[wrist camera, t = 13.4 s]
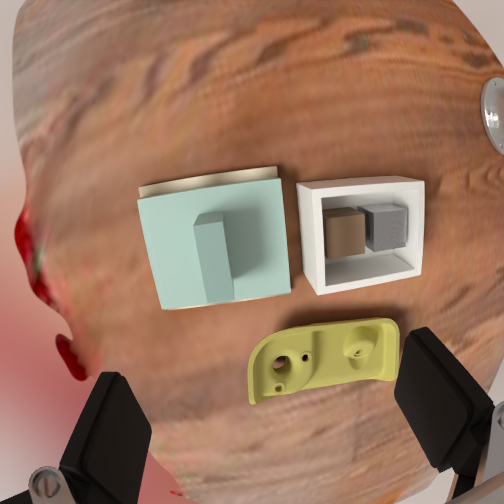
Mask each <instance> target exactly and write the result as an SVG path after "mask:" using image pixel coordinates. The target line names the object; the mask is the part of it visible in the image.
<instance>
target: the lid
mask: <svg viewBox="0 0 504 504" xmlns="http://www.w3.org/2000/svg"><path fill="white" fill-rule="evenodd" d="M137 202H138V208H139V213H140V218H141V223H142V228H143V233H144V238H145V242H146V247H147V251H148V256H149V260H150V264H151V268H152V272H153V277H154V281H155V284H156V288H157V292H158V296H159V300H160V303H161V307H162V309H170V308H179V307H187V306H196V305H204V304H212V303H220V302H228V301H235V300H243V299H250V298H257V297H264V296H270V295H277V294H284V293H290V292H291V289H290V275H289V263H288V250H287V239H286V228H285V217H284V206H283V196H282V186H281V178H278V177H274V178H266V179H257V180H249V181H241V182H234V183H226V184H219V185H212V186H206V187H199V188H193V189H186V190H180V191H174V192H169V193H163V194H157V195H152V196H147V197H142V198H140V199H138V200H137Z"/></svg>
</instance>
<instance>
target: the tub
mask: <svg viewBox="0 0 504 504" xmlns="http://www.w3.org/2000/svg"><path fill="white" fill-rule="evenodd" d="M296 189H297V199H298V210H299V222H300V235H301V248H302V263H303V272H304V274H305V276H306V277H307V279H308V281H309V282H310V284H311V285H312V287H313V289H314V290H315V292H316V293H317V295H322V294H327V293H333V292H338V291H344V290H349V289H354V288H360V287H365V286H370V285H375V284H380V283H385V282H389V281H394V280H399V279H404V278H408V277H413V276H417V275H421V266H422V254H423V238H424V204H425V193H424V181H421V180H416V179H411V178H406V177H401V176H396V175H391V176H374V177H358V178H345V179H333V180H321V181H311V182H301V183H296ZM381 203H390V204H393V205H396V206H399V207H401V208H404V209H407V230H406V247H402V248H396V249H390V250H384V251H378V252H373V251H372V250H370V249H369V248H367V247H366V246H365V254H359V255H353V256H346V257H340V258H334V259H327V258H326V257H325V256H324V237H323V219H322V210H324V209H333V208H342V207H351V208H353V209H355V210H357V211H358V209H357V206H361V205H371V204H381Z"/></svg>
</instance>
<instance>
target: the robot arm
mask: <svg viewBox="0 0 504 504" xmlns="http://www.w3.org/2000/svg"><path fill="white" fill-rule="evenodd" d="M481 114H482V119H483V123H484V127H485V130H486V133H487V135H488V138H489V140H490V141H491V143H492V145H493V146H494V148H495V149H496V150H497V151H498V152H499V153H500V154H501V155H503V156H504V79H503V78H499V77H496V78H491V79H489V80H487V81H486V83H485V84H484V86H483V89H482V93H481ZM394 396H395V399H396V401H397V403H398V405H399V407H400V408H401V410H402V412H403V414H404V416H405V417H406V419H407V421H408V423H409V425H410V426H411V428H412V430H413V432H414V434H415V436H416V437H417V439H418V441H419V443H420V445H421V447H422V449H423V451H424V452H425V454H426V456H427V458H428V460H429V462H430V464H431V466H432V467H433V468H437V469H438V471H439V473H441V472H443V471H445V470H447V469H449V468H451V467H452V468H453V470H454V472H455V475H454V479H453V482H452V485H451V489H450V492H449V495H448V498H447V501H446V503H445V504H504V401H503V402H501V403H499V404H498V405H497V406H496V407H495V406H494V405H493V401H492V400H491V398H490V397H489V396H488V395H487V394H486V392H485V391H484V390H483V389H482V388H481V386H480V385H479V384H478V383H477V382H476V380H475V379H474V378H473V377H472V376H471V375H470V373H469V372H468V371H467V370H466V369H465V368H464V366H463V365H462V364H461V363H460V362H459V361H458V360H457V359H456V357H455V356H454V355H453V354H452V353H451V352H450V351H449V350H448V349H447V347H446V346H445V345H444V344H443V343H442V342H441V341H440V340H439V339H438V338H437V337H436V336H435V334H434V333H433V332H432V331H431V330H430V329H429V328H428V327H422V328H419V329H416V330H412V331H411V332H410V333H409V336H407V337H406V339H405V344H404V349H403V354H402V359H401V364H400V369H399V373H398V377H397V382H396V386H395V390H394ZM151 434H152V430H151V426H150V424H149V422H148V420H147V418H146V417H145V415H144V413H143V411H142V409H141V407H140V405H139V404H138V402H137V400H136V398H135V396H134V394H133V392H132V390H131V388H130V386H129V384H128V382H127V380H126V378H125V377H124V376H121V374H120V373H119V372H102V373H101V374H100V376H99V378H98V380H97V382H96V384H95V386H94V388H93V390H92V392H91V394H90V396H89V398H88V400H87V402H86V405H85V407H84V409H83V411H82V413H81V415H80V417H79V419H78V422H77V424H76V426H75V428H74V431H73V433H72V435H71V437H70V440H69V442H68V444H67V447H66V449H65V451H64V454H63V456H62V458H61V461H60V466H59V469H57V468H55V467H52V466H44V467H40V468H39V469H37V470H35V472H34V473H33V474H32V475H31V477H30V479H29V484H28V486H29V490H26V491H24V492H22V493H20V494H17V495H15V496H13V497H11V498H8V499H6V500H3V501H1V502H0V504H137V502H138V497H139V491H140V486H141V481H142V476H143V471H144V467H145V462H146V457H147V453H148V448H149V444H150V439H151Z"/></svg>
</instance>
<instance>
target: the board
mask: <svg viewBox="0 0 504 504" xmlns="http://www.w3.org/2000/svg"><path fill="white" fill-rule="evenodd" d="M274 177H278V175H277V166H270V167H261V168H253V169H245V170H237V171H230V172H223V173H216V174H209V175H203V176H196V177H190V178H184V179H179V180H173V181H167V182H162V183H157V184H151V185H146V186H141V187H139V192H140V198H142V197H147V196H152V195H157V194H163V193H169V192H174V191H180V190H186V189H193V188H199V187H206V186H212V185H219V184H226V183H234V182H241V181H249V180H257V179H266V178H274ZM286 294H289V293H284V294H277V295H270V296H264V297H257V298H250V299H243V300H235V301H228V302H220V303H212V304H204V305H196V306H187V307H179V308H170V309H166V310H175V309H184V308H192V307H201V306H209V305H216V304H224V303H232V302H239V301H246V300H253V299H260V298H267V297H273V296H280V295H286Z"/></svg>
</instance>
